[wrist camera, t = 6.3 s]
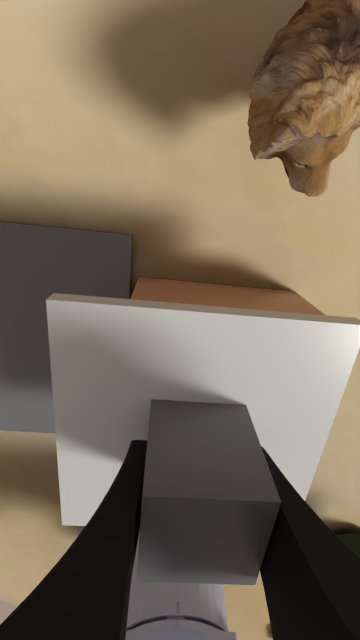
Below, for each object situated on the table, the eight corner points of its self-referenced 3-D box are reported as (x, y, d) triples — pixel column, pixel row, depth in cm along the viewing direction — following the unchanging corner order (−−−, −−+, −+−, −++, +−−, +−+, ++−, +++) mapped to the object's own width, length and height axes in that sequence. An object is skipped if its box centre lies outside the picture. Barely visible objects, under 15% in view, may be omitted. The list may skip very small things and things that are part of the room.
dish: (262, 415, 23) (282, 463, 19) (131, 407, 23) (123, 455, 19) (294, 291, 20) (327, 316, 15) (138, 276, 19) (130, 299, 15)
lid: (287, 518, 17) (334, 647, 12) (66, 510, 16) (22, 644, 11) (355, 317, 12) (473, 395, 8) (53, 292, 12) (-30, 361, 7)
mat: (124, 433, 24) (123, 437, 23) (-79, 421, 23) (-84, 425, 22) (132, 234, 18) (131, 235, 18) (-137, 207, 17) (-144, 207, 17)
